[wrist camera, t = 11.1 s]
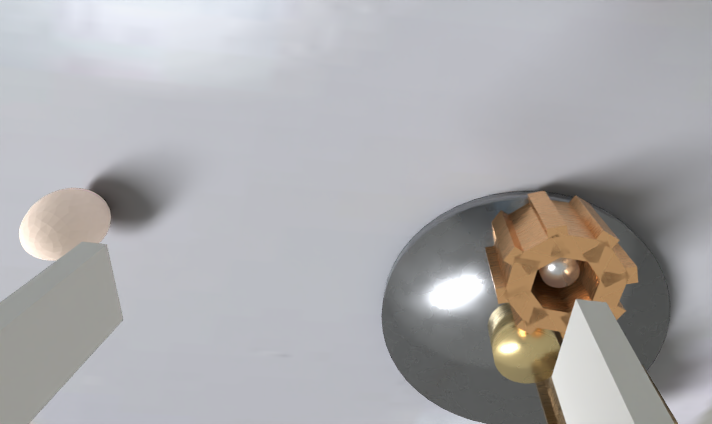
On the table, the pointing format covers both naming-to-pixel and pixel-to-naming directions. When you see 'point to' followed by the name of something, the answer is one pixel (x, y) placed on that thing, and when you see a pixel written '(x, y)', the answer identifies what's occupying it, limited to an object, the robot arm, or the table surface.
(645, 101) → the table surface
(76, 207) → the egg
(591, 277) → the planet gear
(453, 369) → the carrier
